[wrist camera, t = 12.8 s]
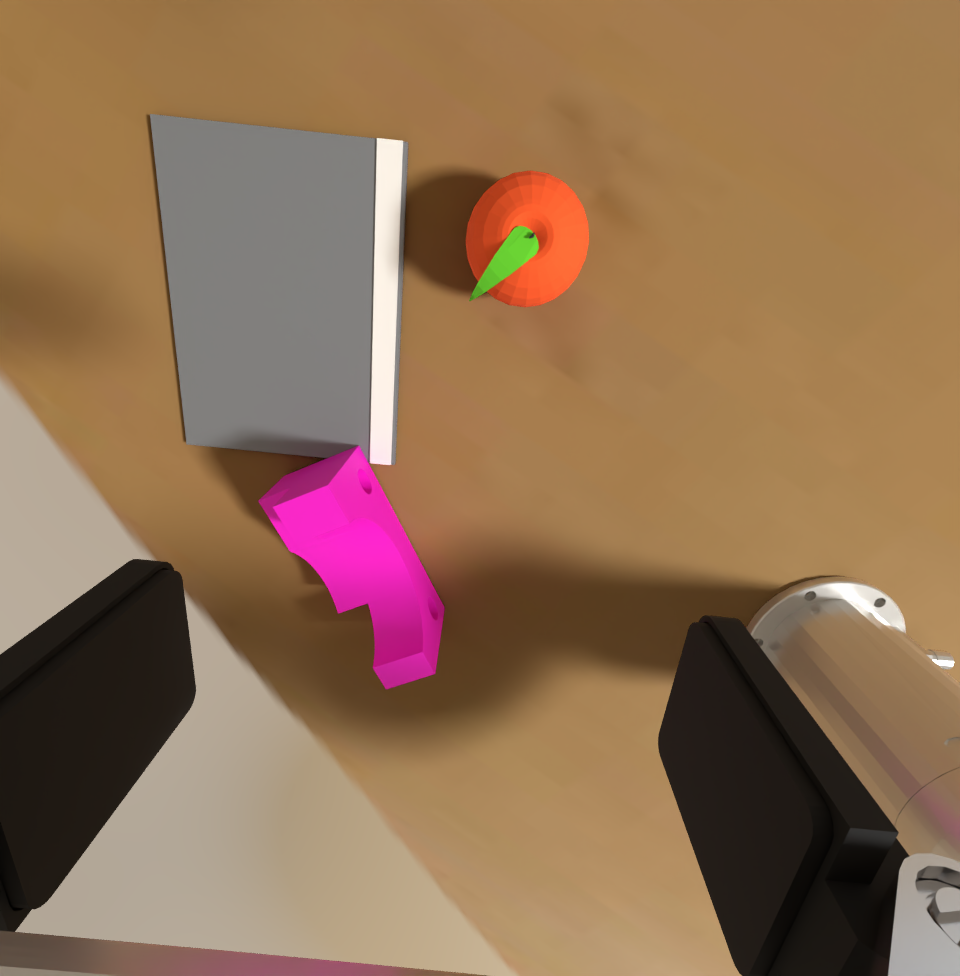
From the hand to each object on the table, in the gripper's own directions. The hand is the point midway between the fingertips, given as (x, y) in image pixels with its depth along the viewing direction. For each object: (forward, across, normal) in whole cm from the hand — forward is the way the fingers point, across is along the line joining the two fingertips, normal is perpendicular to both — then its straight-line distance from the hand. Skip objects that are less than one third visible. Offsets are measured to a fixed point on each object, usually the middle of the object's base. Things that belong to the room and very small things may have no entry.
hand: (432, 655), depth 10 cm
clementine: (+28, -2, -9) cm, 30 cm away
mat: (+28, +13, -4) cm, 31 cm away
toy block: (+28, +7, +13) cm, 32 cm away
